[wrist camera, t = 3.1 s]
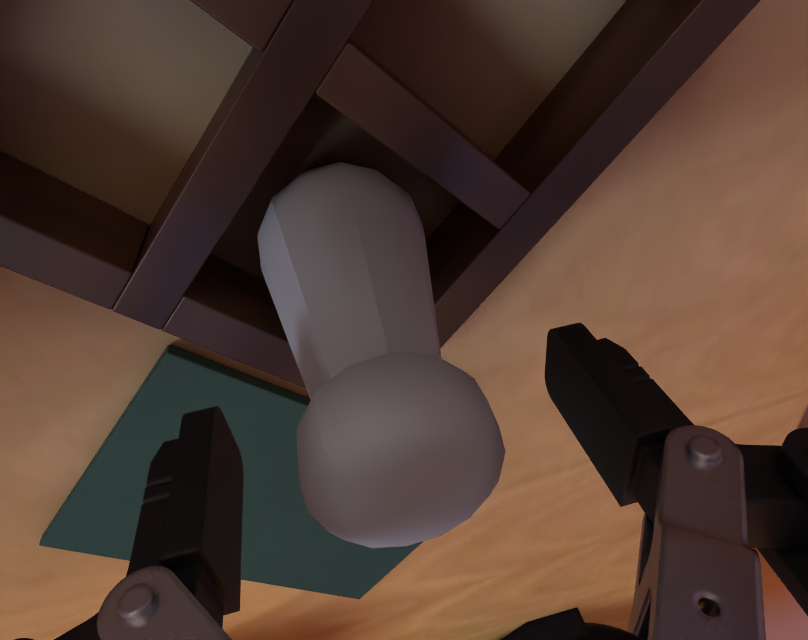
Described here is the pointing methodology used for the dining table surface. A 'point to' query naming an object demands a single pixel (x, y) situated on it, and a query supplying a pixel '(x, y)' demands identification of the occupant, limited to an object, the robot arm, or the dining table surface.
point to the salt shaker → (373, 363)
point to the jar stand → (386, 121)
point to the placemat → (262, 487)
